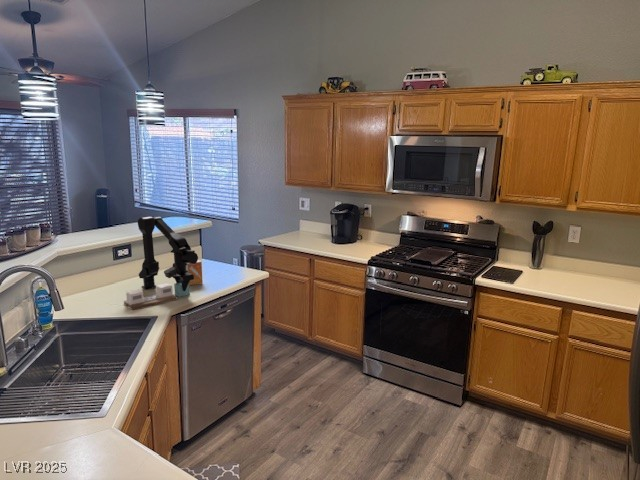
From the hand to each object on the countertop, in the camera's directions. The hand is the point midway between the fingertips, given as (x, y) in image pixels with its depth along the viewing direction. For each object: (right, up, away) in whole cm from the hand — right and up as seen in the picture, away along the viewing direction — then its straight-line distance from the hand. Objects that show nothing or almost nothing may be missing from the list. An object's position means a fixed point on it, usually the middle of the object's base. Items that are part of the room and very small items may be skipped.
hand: (182, 289), depth 235 cm
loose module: (0, -3, 0) cm, 3 cm away
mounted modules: (-12, -3, -11) cm, 17 cm away
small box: (+1, +1, +20) cm, 20 cm away
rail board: (-13, -5, -11) cm, 17 cm away
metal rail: (-12, -3, -11) cm, 17 cm away
